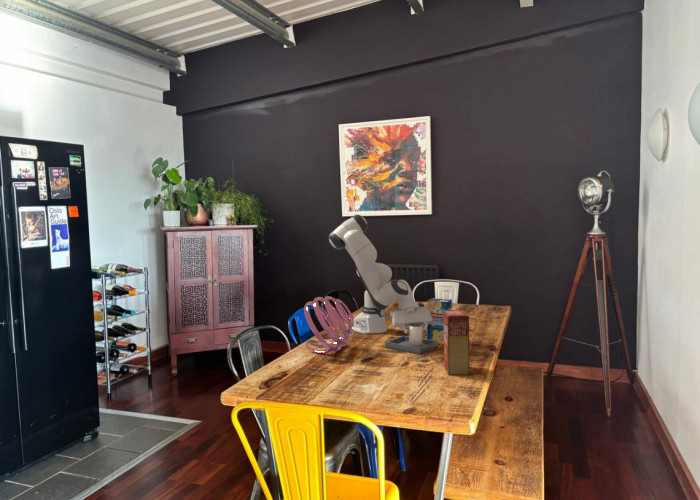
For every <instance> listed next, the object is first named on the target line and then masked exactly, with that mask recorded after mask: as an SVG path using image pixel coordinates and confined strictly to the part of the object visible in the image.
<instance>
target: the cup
mask: <svg viewBox="0 0 700 500" xmlns="http://www.w3.org/2000/svg"><path fill="white" fill-rule="evenodd" d="M422 329H423V325H419V324H412V325H409V326H408V331H409V333H408V337H409V346H412V347H417V348H420V347H422V339H423V331H422Z"/></svg>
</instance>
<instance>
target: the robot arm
mask: <svg viewBox="0 0 700 500" xmlns="http://www.w3.org/2000/svg"><path fill="white" fill-rule="evenodd" d="M368 227H369V225H368V222H367V220H366V218H364V216H362V215H361V214H355V215H352V216H351V218H349V219H346V220H345V221H343V222H342V223H341V224H340V225H339V226H337V227H336V228H335V229H334V230H333V231H331V232H330V233H329V234H328V241H329V243H330V244H331V246H332V247H333V248H334V249H337V250H343V249H344V250H346V251H347V252H348V254H349V255H350V257H351V258H352V260H353V261H354V263H355V266H356V274H357V276H358V277H359V278H360V280H361V282H362V284H363V286H364V288H365V291H364V296H363V297H364V305H363V306H361V307H360V310H361V313H359V314H358V315H357V316H355V317H353V319H354V326H353V332H357V333H359V334H364V335H365V334H381V333H386V332H387V331H388V329H387V326H386V317H385V314H386V310H387V308H389V307H390V306H391V305H392V304H394V303H395V302H397V306H398V309H397V308H396V309H392V310H391V311H390V312H389V315H390V317H391V323H392V326H393V327H394V328H400V329H401V330H402V331H403V332H404V334H405V335H406V334H408V335H409V328H407V327H409V325H412V324H419V325H422V333H427V325H429V324H430V323H431V322H432V317H431V314H430V312H429V310H428V309H427V304H426V303H424V302H422V303H421V302H418V301H415V299H414V293H413V291H412V288H411V287H410V284H409V283H408V282H407V281H406V279H405V280H404V279H392V277H393V275H392V274H393V273H392V269H391V268H390V266H389V265H386V264H384V263H381V262H376V260H377V259H378V258H377V257H378V251H377V250H376V248H375V246H374V245H373V243H372V242H371V240H370V239H369V238H368V237H367V235H365V232H366V231H367V230H368Z"/></svg>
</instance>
